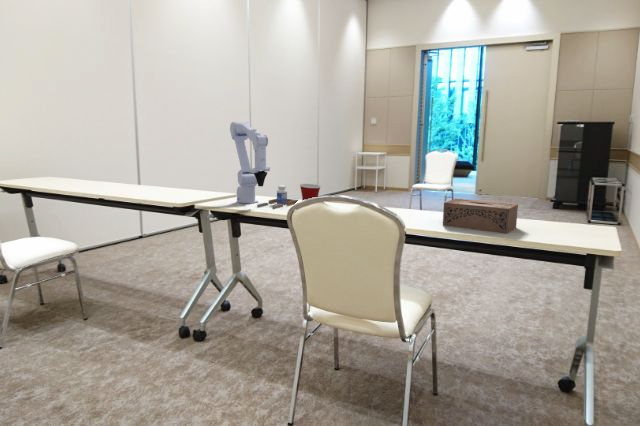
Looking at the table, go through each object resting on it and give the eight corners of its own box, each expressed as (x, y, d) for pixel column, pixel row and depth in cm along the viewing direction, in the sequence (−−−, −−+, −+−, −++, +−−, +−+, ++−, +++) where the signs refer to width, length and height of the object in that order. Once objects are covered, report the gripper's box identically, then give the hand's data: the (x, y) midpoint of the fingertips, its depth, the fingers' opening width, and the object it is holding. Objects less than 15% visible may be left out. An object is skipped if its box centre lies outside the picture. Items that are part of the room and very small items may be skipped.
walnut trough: (268, 203, 245) (268, 200, 245) (279, 201, 254) (279, 198, 254) (288, 205, 239) (288, 202, 239) (298, 203, 248) (298, 199, 248)
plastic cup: (315, 210, 224) (316, 186, 222) (295, 209, 229) (295, 185, 227) (324, 207, 234) (324, 184, 232) (304, 206, 238) (305, 183, 236)
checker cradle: (257, 206, 234) (257, 204, 234) (266, 204, 241) (266, 202, 241) (274, 208, 229) (274, 205, 229) (283, 206, 236) (283, 203, 236)
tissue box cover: (442, 226, 192) (443, 202, 191) (454, 220, 204) (455, 198, 202) (507, 234, 178) (509, 208, 176) (516, 228, 189) (518, 204, 187)
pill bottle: (275, 203, 245) (275, 185, 244) (284, 203, 248) (284, 185, 246) (279, 205, 241) (279, 186, 239) (288, 204, 244) (288, 186, 242)
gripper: (258, 160, 224) (259, 188, 226) (274, 159, 236) (275, 185, 239) (246, 159, 227) (247, 187, 229) (263, 158, 240) (263, 184, 242)
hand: (260, 186), depth 234 cm, fingers closed
